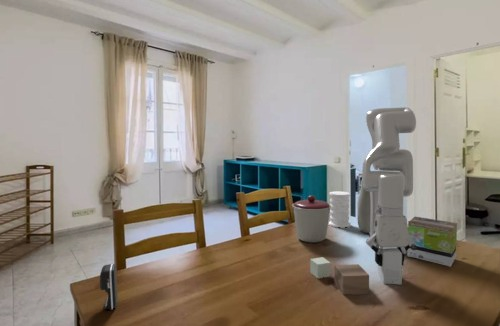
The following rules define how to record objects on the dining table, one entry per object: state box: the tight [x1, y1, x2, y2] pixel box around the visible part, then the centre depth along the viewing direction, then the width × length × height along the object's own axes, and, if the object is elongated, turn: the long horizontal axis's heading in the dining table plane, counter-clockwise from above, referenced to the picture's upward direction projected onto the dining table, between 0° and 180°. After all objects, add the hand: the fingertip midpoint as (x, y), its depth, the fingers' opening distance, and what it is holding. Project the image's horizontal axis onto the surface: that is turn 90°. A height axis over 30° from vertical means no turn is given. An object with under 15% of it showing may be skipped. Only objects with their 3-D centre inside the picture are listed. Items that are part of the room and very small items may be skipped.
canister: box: [291, 195, 331, 244], centre depth 139 cm, size 18×18×21 cm
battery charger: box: [99, 263, 118, 310], centre depth 85 cm, size 7×4×11 cm, turn 20°
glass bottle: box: [357, 181, 370, 234], centre depth 148 cm, size 10×10×28 cm
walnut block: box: [333, 263, 370, 295], centre depth 93 cm, size 8×8×6 cm
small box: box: [377, 247, 403, 286], centre depth 98 cm, size 8×6×10 cm
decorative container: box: [328, 190, 352, 229], centre depth 162 cm, size 12×12×18 cm
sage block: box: [309, 257, 332, 279], centre depth 103 cm, size 5×5×5 cm
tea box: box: [406, 216, 458, 268], centre depth 115 cm, size 15×10×15 cm, turn 47°
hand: (389, 263), depth 98 cm, fingers closed on small box, 6 cm apart
